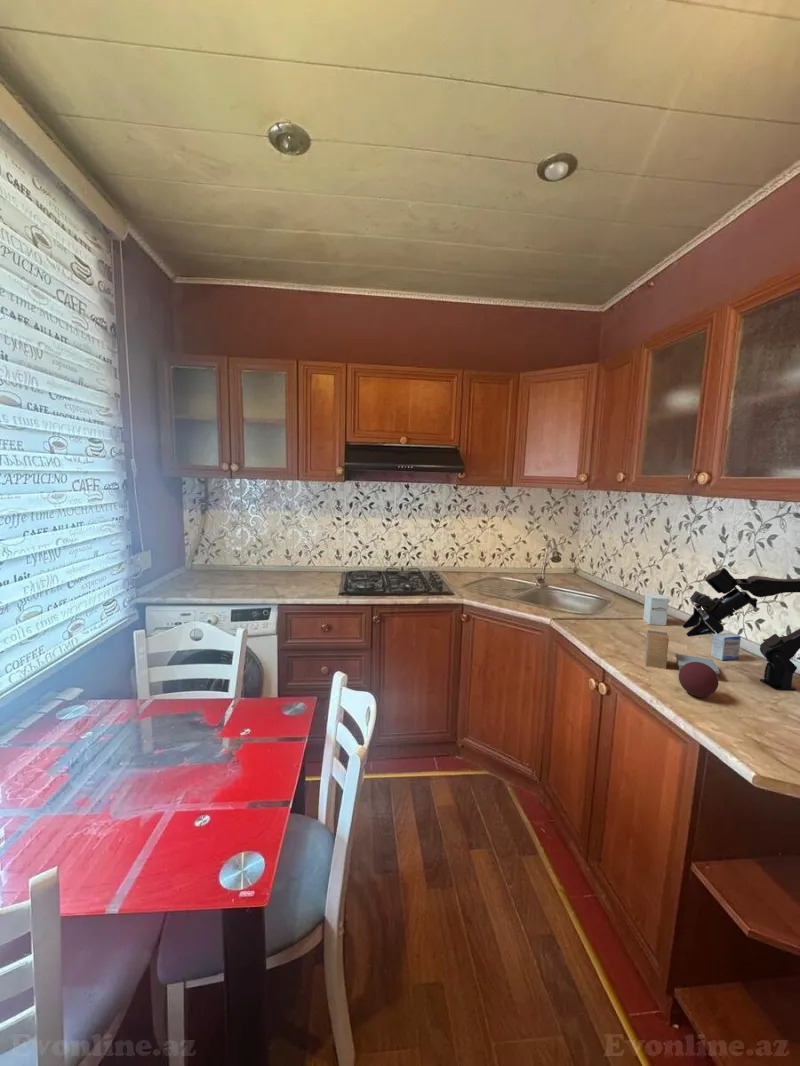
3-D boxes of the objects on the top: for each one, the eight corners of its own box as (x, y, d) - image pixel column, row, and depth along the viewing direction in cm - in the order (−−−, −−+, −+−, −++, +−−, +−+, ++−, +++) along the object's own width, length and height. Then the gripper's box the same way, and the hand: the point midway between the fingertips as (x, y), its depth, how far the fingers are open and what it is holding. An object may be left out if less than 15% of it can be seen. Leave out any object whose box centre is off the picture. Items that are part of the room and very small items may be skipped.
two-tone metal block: (664, 662, 158) (667, 632, 156) (665, 669, 152) (668, 638, 151) (644, 659, 160) (647, 630, 159) (645, 665, 155) (648, 635, 153)
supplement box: (648, 624, 199) (651, 597, 198) (642, 619, 206) (645, 593, 205) (666, 626, 198) (669, 598, 196) (660, 620, 205) (662, 594, 204)
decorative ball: (670, 685, 140) (673, 655, 139) (704, 688, 139) (708, 657, 138) (687, 701, 130) (691, 669, 129) (724, 704, 129) (728, 671, 128)
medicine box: (721, 661, 160) (724, 637, 159) (710, 656, 165) (712, 633, 164) (738, 659, 163) (741, 636, 161) (726, 654, 167) (729, 632, 166)
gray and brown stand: (711, 668, 154) (712, 659, 153) (718, 681, 144) (719, 671, 144) (674, 662, 158) (675, 653, 158) (678, 674, 149) (679, 664, 148)
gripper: (704, 579, 155) (664, 605, 161) (715, 591, 138) (670, 619, 145) (729, 604, 153) (688, 630, 159) (743, 619, 136) (696, 647, 142)
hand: (685, 631), depth 151 cm, fingers open, 9 cm apart
